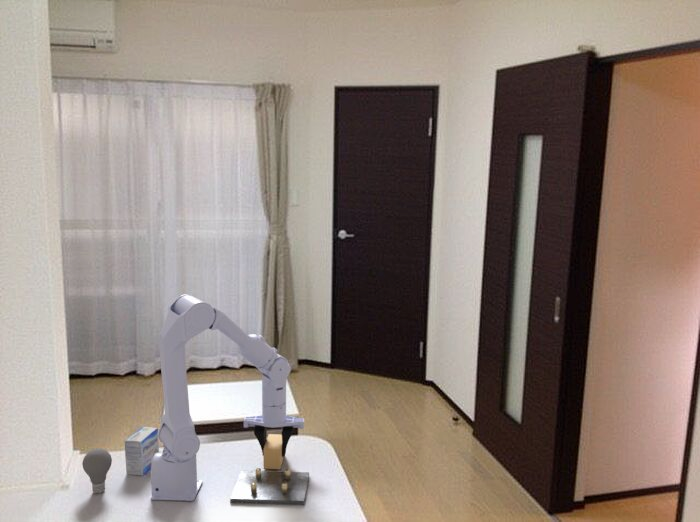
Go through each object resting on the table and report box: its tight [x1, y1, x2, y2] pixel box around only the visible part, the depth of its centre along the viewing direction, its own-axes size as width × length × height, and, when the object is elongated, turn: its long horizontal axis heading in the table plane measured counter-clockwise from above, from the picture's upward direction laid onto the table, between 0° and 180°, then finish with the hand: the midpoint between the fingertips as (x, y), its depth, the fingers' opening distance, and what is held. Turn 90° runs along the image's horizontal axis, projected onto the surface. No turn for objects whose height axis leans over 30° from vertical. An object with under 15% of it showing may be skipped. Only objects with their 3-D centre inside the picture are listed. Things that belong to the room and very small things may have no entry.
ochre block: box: [262, 433, 284, 470], centre depth 151 cm, size 4×8×5 cm, turn 179°
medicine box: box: [124, 426, 160, 477], centre depth 148 cm, size 8×4×9 cm, turn 168°
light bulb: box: [82, 447, 113, 494], centre depth 137 cm, size 6×6×10 cm
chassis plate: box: [229, 467, 310, 506], centre depth 140 cm, size 16×12×3 cm
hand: (274, 454), depth 152 cm, fingers closed on ochre block, 4 cm apart
